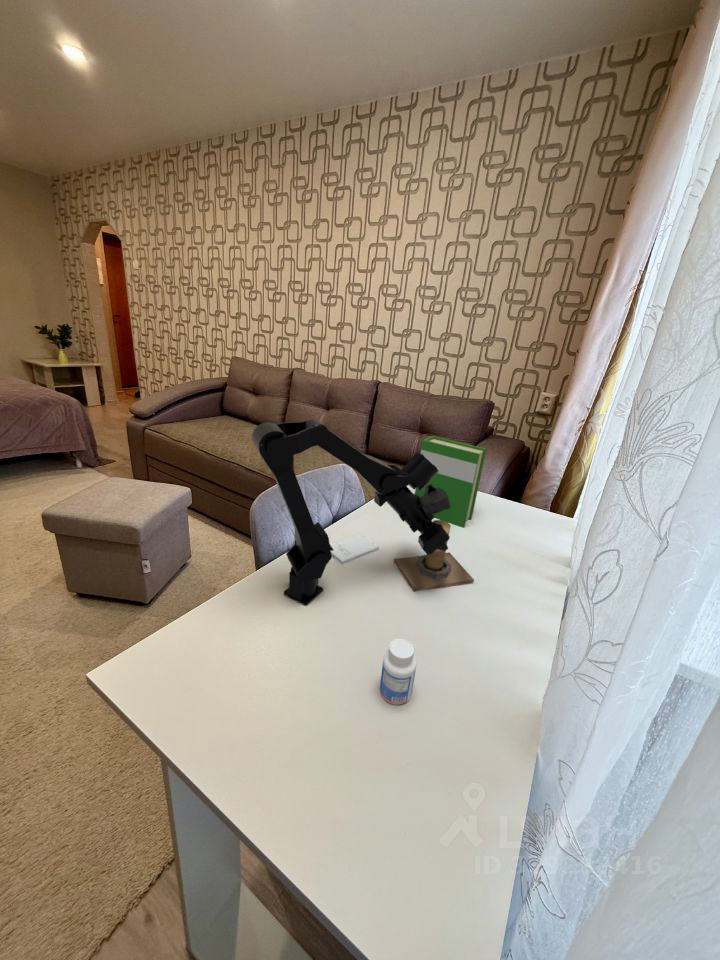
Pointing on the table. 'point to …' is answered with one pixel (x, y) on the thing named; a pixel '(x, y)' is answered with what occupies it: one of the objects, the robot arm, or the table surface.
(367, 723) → the table surface
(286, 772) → the table surface
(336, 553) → the external hard drive
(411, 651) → the pill bottle
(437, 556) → the light brown tall cylinder
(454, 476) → the hardback book
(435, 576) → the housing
